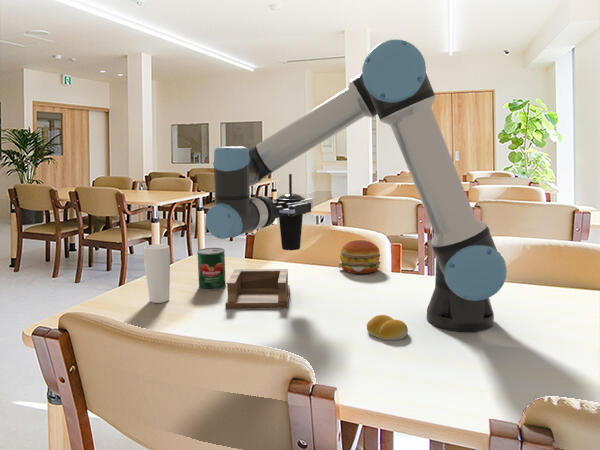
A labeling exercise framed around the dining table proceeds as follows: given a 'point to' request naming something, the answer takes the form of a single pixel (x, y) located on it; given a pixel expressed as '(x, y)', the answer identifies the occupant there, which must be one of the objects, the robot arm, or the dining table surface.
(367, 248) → the burger
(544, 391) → the dining table surface
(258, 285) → the walnut rest
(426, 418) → the dining table surface
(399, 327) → the bread roll
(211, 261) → the canned tomato
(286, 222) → the drinking cup
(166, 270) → the drinking glass
